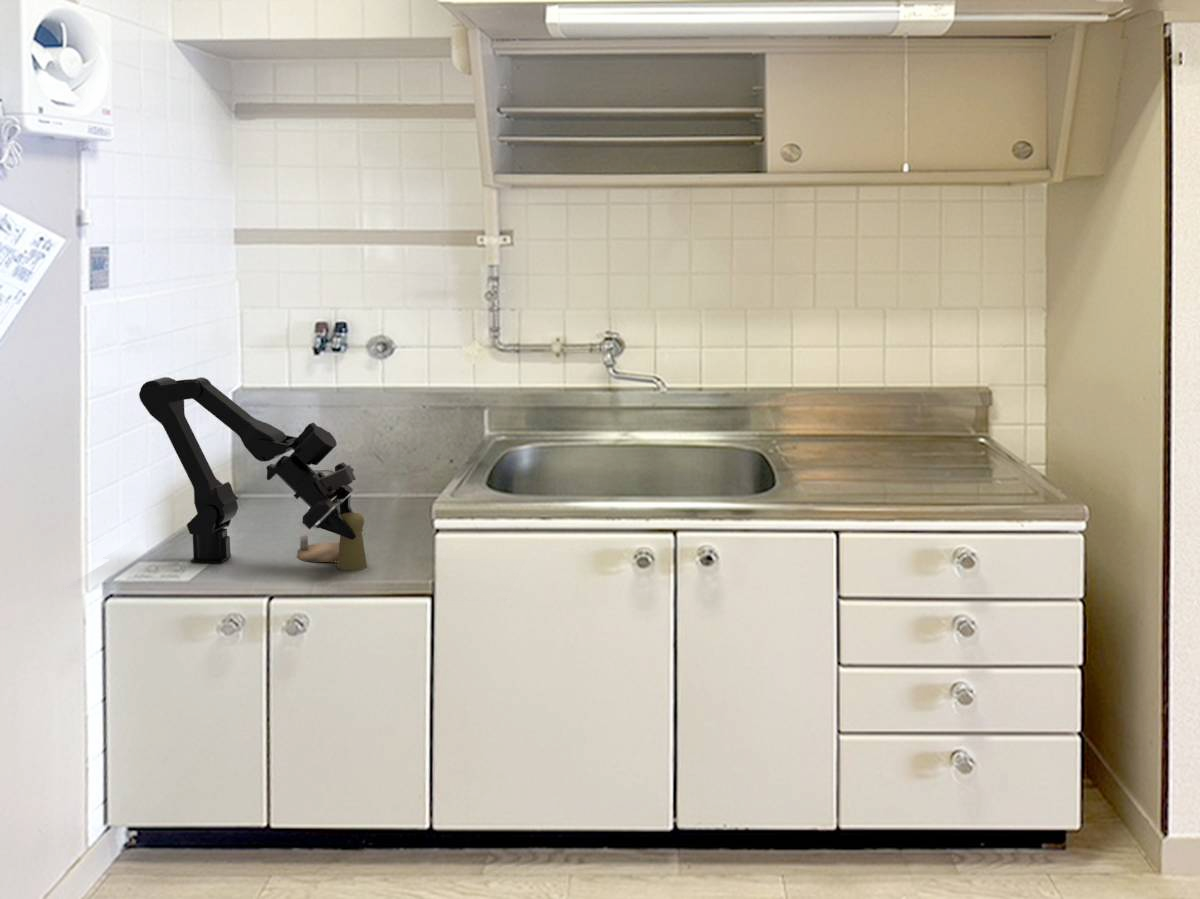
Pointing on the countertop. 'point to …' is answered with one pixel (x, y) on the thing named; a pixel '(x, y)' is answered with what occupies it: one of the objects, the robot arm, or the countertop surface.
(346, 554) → the cork
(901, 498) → the countertop surface
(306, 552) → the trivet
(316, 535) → the countertop surface
